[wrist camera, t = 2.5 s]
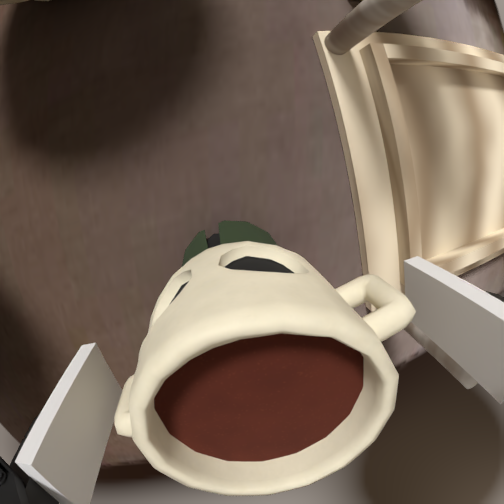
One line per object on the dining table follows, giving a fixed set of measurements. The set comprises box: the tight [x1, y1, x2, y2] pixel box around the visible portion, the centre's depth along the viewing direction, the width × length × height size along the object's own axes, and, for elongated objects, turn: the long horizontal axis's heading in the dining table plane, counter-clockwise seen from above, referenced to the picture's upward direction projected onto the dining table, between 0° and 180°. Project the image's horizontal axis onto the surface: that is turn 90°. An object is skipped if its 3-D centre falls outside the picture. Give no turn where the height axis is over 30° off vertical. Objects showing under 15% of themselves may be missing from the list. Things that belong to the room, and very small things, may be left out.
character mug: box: [114, 221, 416, 496], centre depth 13 cm, size 11×7×13 cm, turn 113°
